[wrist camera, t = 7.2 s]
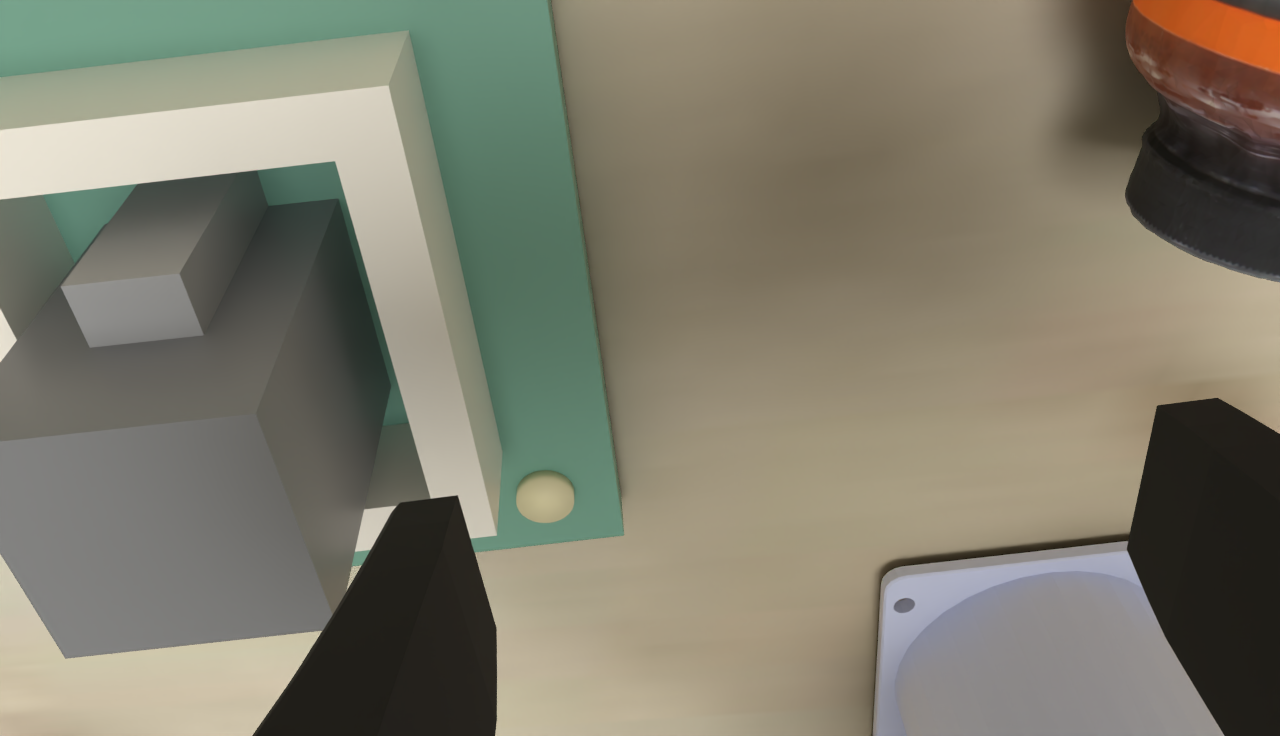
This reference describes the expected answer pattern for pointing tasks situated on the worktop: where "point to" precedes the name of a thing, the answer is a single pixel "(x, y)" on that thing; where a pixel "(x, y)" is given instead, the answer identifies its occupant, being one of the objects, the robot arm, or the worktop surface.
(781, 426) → the worktop surface
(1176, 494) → the robot arm
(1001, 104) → the worktop surface
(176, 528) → the plug
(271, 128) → the frame
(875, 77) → the worktop surface
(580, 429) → the board
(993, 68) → the worktop surface
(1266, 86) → the supplement bottle
